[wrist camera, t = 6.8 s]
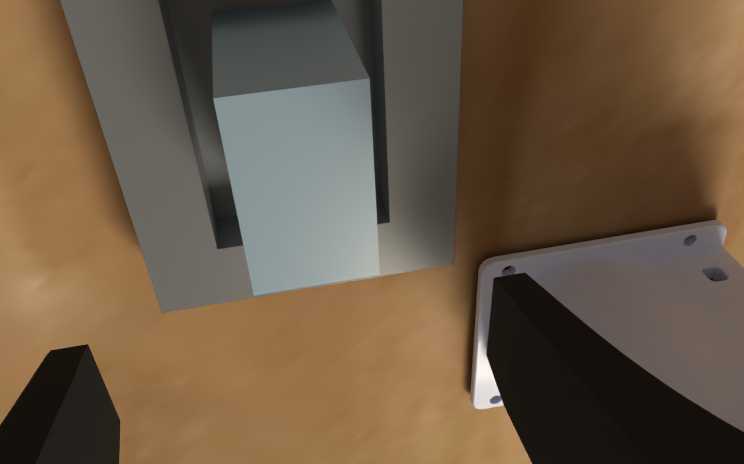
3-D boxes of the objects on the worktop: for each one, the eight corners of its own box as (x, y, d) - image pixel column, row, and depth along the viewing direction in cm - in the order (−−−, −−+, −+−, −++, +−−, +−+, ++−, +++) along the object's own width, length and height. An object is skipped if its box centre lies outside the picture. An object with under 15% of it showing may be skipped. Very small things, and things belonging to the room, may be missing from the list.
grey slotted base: (441, -143, 16) (468, -131, 14) (436, 227, 22) (454, 264, 21) (48, -110, 15) (30, -92, 13) (164, 270, 21) (161, 312, 20)
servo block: (331, -1, 17) (369, 78, 13) (345, 168, 20) (379, 274, 16) (211, 12, 16) (213, 98, 12) (244, 183, 19) (253, 295, 15)
